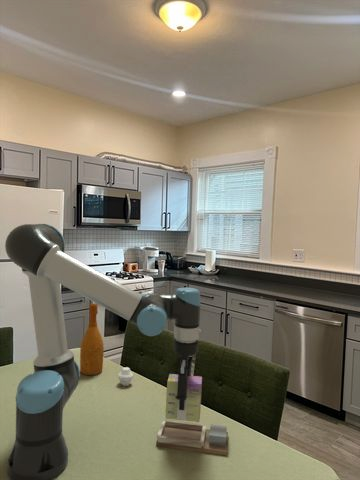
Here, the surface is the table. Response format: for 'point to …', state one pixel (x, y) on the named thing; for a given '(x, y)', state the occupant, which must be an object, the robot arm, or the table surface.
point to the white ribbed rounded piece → (125, 376)
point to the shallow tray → (193, 437)
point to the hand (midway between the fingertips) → (183, 413)
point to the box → (192, 398)
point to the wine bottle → (92, 347)
